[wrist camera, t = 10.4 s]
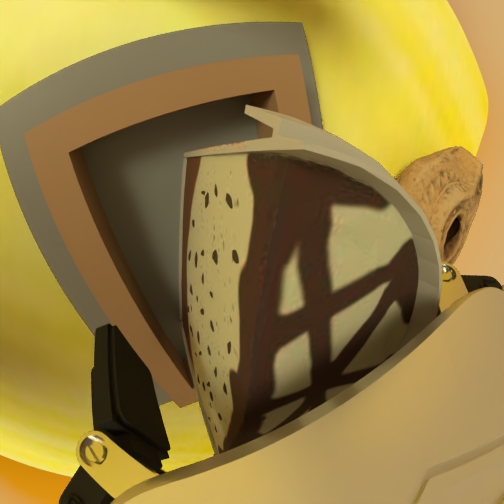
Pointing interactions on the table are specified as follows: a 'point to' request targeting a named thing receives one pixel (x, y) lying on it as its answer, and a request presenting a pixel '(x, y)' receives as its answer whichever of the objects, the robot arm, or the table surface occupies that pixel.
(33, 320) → the table surface
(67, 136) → the tray
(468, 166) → the oil lamp
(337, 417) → the robot arm
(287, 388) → the food container
